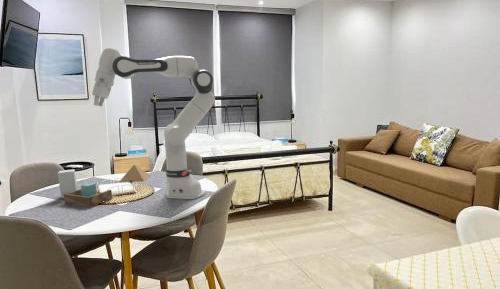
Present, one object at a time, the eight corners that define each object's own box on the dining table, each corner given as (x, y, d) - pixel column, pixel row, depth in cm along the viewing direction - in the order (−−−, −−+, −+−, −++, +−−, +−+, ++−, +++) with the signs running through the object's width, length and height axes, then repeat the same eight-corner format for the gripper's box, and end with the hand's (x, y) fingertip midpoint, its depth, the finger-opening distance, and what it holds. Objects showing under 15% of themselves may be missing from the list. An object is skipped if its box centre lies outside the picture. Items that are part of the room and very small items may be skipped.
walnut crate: (88, 195, 202) (87, 187, 202) (112, 198, 195) (111, 189, 194) (64, 203, 189) (63, 194, 188) (89, 207, 182) (88, 197, 181)
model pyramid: (118, 182, 231) (116, 167, 229) (127, 176, 248) (125, 162, 246) (144, 182, 231) (142, 166, 229) (151, 175, 248) (150, 161, 246)
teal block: (97, 199, 194) (95, 183, 192) (89, 202, 189) (87, 186, 188) (90, 199, 196) (88, 183, 194) (82, 201, 191) (81, 185, 190)
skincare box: (78, 194, 206) (75, 168, 204) (77, 197, 200) (74, 170, 198) (61, 196, 203) (59, 170, 201) (60, 198, 198) (57, 172, 195)
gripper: (106, 79, 174) (99, 106, 175) (114, 83, 194) (108, 108, 195) (93, 75, 173) (86, 103, 173) (102, 80, 193) (96, 105, 193)
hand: (97, 105), depth 184 cm, fingers open, 8 cm apart
